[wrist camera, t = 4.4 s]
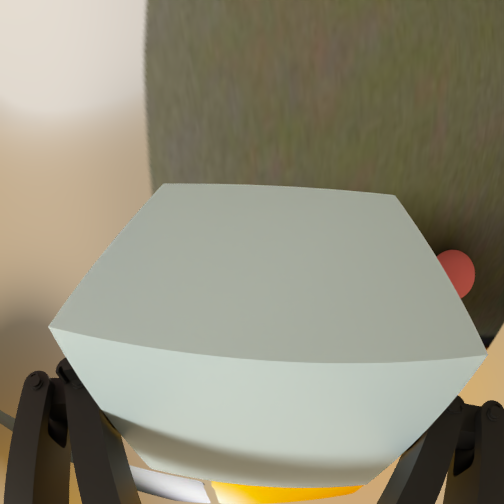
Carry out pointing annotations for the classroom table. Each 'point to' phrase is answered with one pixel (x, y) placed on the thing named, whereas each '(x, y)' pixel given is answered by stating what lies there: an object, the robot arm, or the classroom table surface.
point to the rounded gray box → (269, 334)
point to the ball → (458, 270)
